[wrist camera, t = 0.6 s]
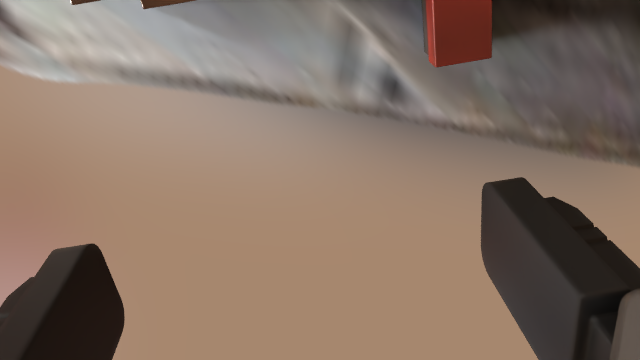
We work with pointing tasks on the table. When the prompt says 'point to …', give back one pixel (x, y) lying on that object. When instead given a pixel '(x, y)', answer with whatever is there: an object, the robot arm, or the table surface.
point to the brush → (457, 30)
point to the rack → (146, 0)
